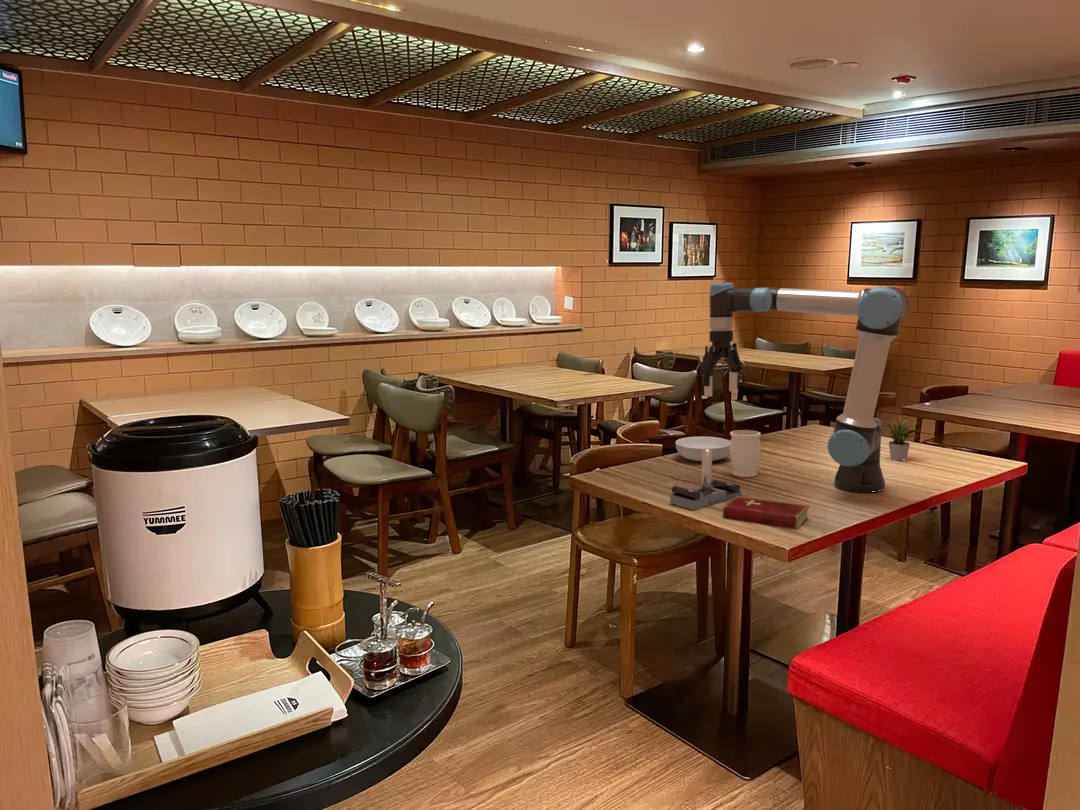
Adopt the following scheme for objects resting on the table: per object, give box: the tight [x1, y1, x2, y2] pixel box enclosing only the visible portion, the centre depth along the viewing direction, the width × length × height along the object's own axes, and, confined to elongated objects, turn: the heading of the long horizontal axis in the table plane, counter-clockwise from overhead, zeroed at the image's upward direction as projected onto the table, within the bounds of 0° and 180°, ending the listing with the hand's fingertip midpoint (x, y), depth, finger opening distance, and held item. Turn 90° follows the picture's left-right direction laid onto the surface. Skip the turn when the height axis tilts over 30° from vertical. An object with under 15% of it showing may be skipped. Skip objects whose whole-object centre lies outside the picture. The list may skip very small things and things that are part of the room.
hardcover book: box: [722, 495, 810, 530], centre depth 218 cm, size 12×21×4 cm, turn 56°
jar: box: [729, 429, 762, 478], centre depth 265 cm, size 11×10×15 cm
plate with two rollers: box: [669, 479, 742, 511], centre depth 237 cm, size 9×23×5 cm, turn 128°
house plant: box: [881, 415, 924, 461], centre depth 281 cm, size 14×14×16 cm
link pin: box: [701, 448, 713, 493], centre depth 236 cm, size 3×3×16 cm
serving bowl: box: [675, 436, 731, 462], centre depth 290 cm, size 21×21×7 cm
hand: (720, 393), depth 255 cm, fingers open, 13 cm apart
